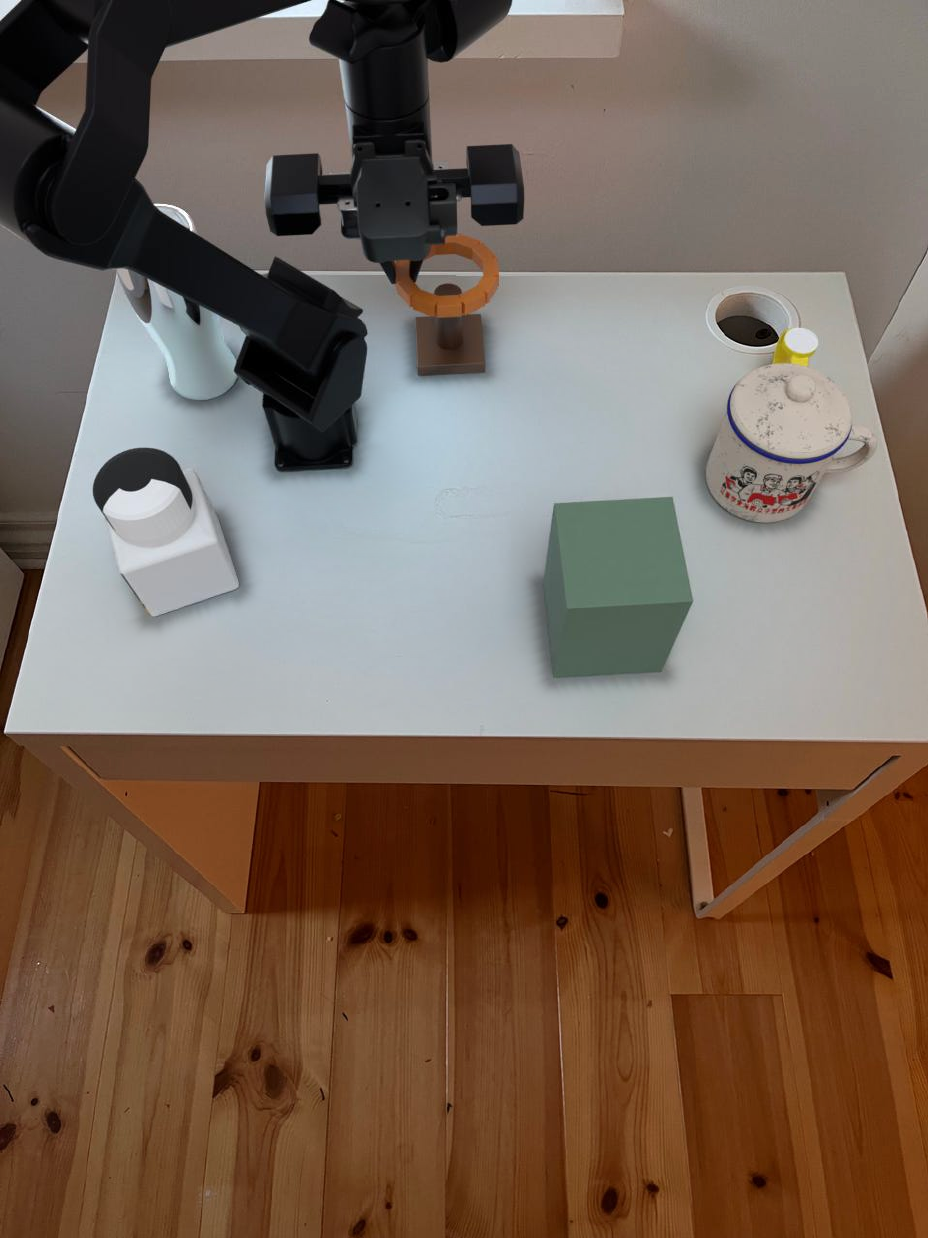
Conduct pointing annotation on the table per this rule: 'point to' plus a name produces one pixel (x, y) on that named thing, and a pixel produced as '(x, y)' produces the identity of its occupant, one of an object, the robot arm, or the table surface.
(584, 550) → the block
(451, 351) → the stand
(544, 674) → the table surface
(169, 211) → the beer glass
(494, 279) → the ring
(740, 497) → the teacup with lid
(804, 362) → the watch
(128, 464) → the medicine bottle
